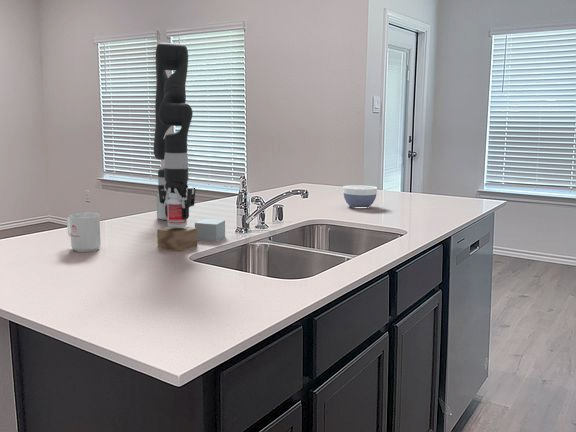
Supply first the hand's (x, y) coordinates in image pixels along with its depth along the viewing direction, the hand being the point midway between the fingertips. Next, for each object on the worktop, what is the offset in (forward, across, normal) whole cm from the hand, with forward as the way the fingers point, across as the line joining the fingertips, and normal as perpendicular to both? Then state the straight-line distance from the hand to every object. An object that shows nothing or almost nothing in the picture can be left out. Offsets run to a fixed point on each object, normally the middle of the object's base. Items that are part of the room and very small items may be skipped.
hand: (177, 217), depth 190 cm
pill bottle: (+3, 0, 0) cm, 3 cm away
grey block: (+10, +1, +16) cm, 19 cm away
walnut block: (+10, 0, 0) cm, 10 cm away
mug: (+10, -23, -19) cm, 31 cm away
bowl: (+10, +17, +109) cm, 111 cm away
